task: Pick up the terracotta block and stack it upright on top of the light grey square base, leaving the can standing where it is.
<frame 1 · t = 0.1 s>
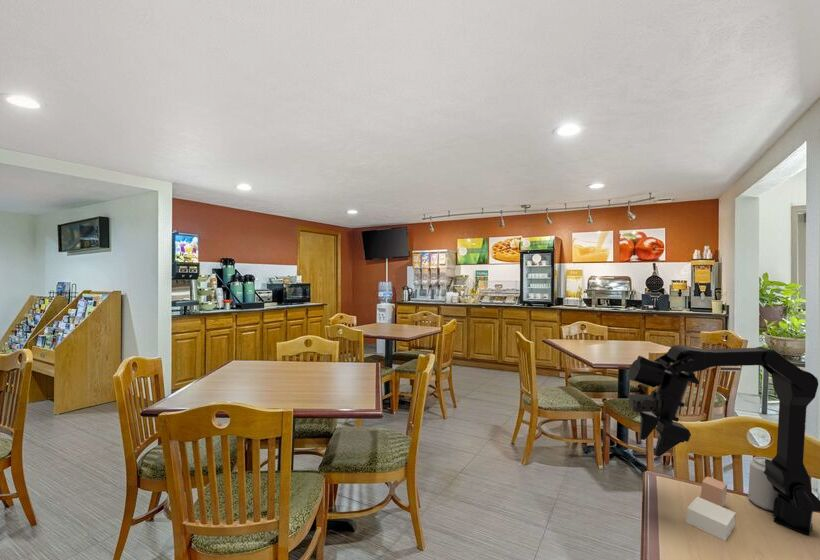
hand: (649, 447, 106), 15 cm above the table, tool pointing down, fingers open, 9 cm apart
can: (766, 505, 108), on the table, touching arm
block: (712, 504, 108), on the table
base: (709, 525, 99), on the table
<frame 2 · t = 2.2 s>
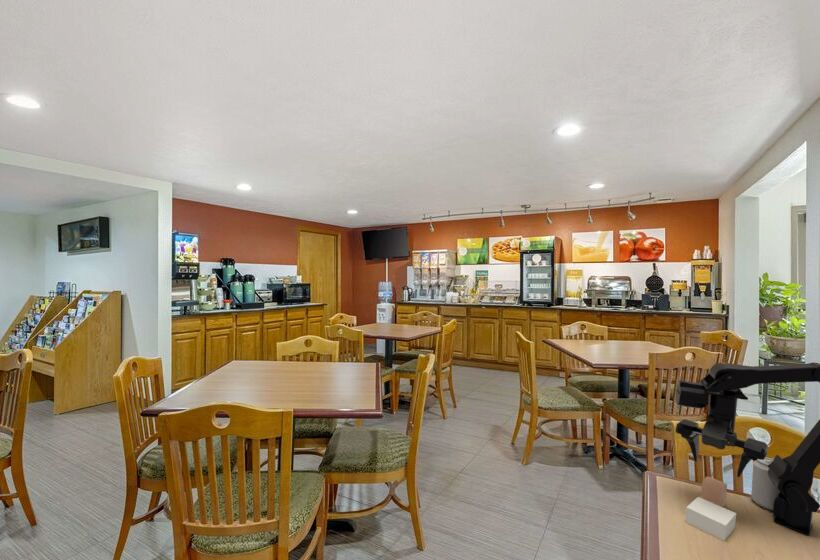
hand: (716, 468, 107), 10 cm above the table, tool pointing down, fingers open, 9 cm apart
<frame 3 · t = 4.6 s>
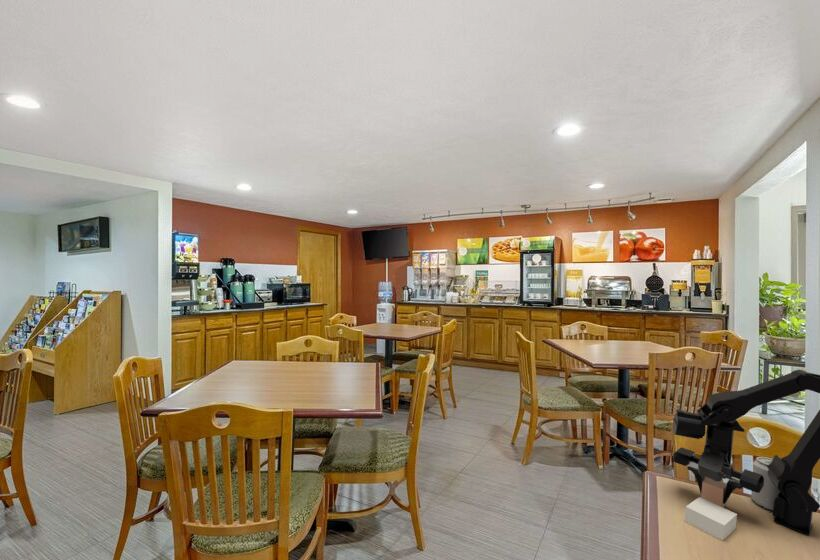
hand: (713, 498, 107), 2 cm above the table, tool pointing down, fingers closed on block, 4 cm apart
block: (712, 504, 108), on the table, touching gripper
everything else where it was.
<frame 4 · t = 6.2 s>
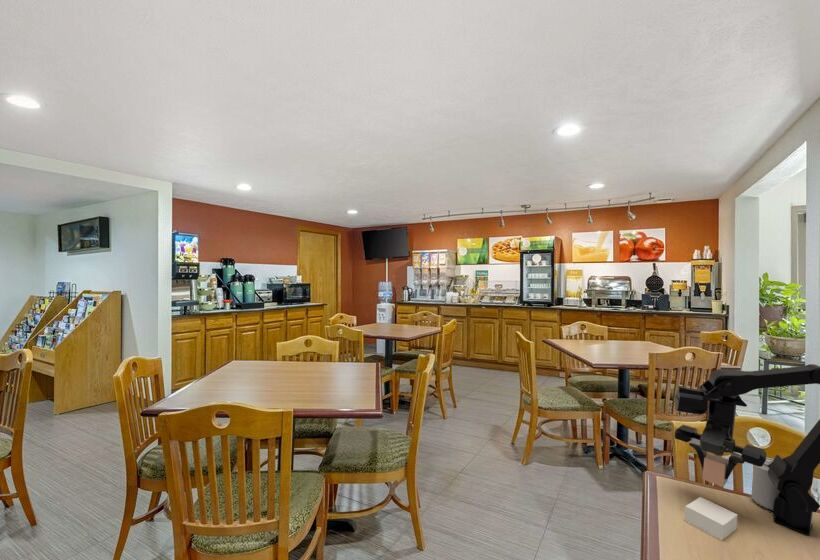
hand: (715, 474, 107), 8 cm above the table, tool pointing down, fingers closed on block, 4 cm apart
block: (714, 480, 107), point 7 cm above the table, touching gripper
everything else where it was.
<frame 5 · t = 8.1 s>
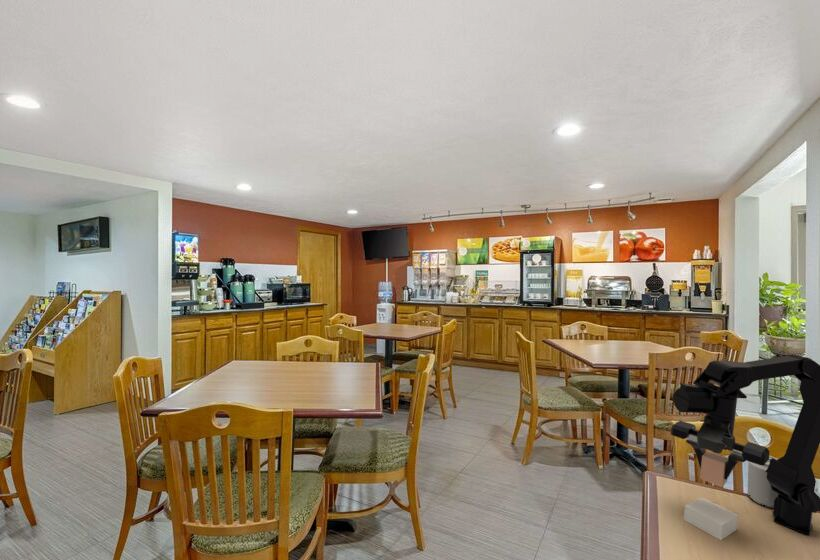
hand: (713, 474, 100), 12 cm above the table, tool pointing down, fingers closed on block, 4 cm apart
can: (765, 501, 110), on the table
block: (713, 480, 100), point 11 cm above the table, touching gripper
everything else where it was.
when the fingers open (7 cm above the table, at t = 10.5 s): block drops 2 cm, point 4 cm above the table.
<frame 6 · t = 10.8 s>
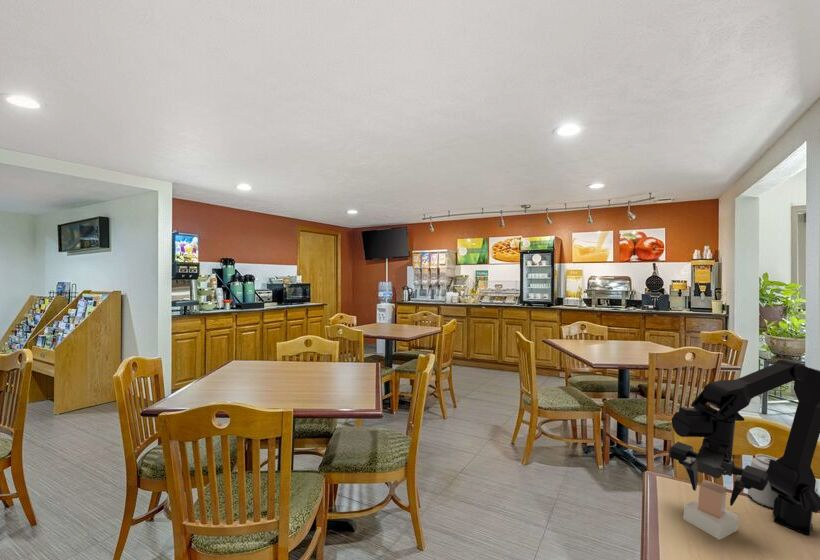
hand: (712, 497, 99), 7 cm above the table, tool pointing down, fingers open, 7 cm apart
block: (711, 509, 99), point 4 cm above the table
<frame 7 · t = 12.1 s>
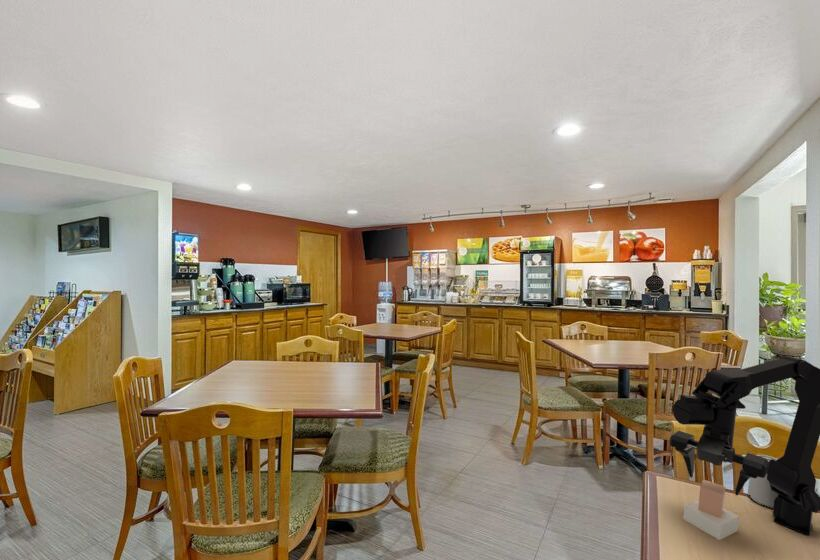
hand: (713, 485, 98), 10 cm above the table, tool pointing down, fingers open, 9 cm apart
block: (710, 509, 99), point 4 cm above the table, touching base
base: (709, 526, 99), on the table, touching block
everything else where it was.
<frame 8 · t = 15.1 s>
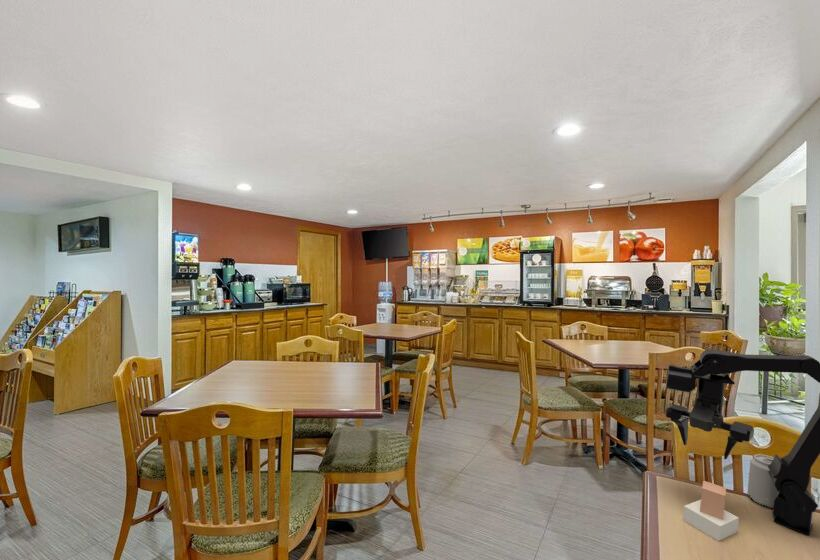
hand: (704, 451, 110), 13 cm above the table, tool pointing down, fingers open, 9 cm apart
nothing on the table moved.
at the end: block 0.3 cm off-centre on the base, point 4.0 cm above the base's base; block tilted 0°; block touching base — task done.
